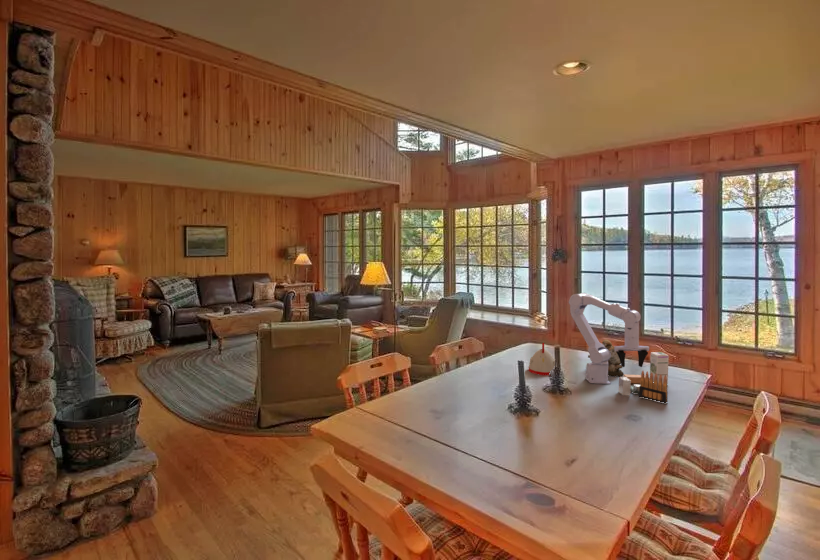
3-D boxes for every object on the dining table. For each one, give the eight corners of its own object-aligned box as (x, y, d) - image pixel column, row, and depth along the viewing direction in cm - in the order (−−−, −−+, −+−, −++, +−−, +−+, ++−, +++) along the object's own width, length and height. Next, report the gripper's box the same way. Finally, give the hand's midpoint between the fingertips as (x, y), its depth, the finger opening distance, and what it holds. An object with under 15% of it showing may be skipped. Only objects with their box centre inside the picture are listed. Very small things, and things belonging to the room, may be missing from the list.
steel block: (630, 396, 182) (630, 380, 181) (622, 395, 182) (623, 380, 182) (625, 392, 187) (626, 376, 186) (618, 392, 187) (619, 376, 187)
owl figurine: (583, 370, 220) (583, 338, 218) (593, 366, 228) (593, 335, 226) (618, 378, 206) (619, 344, 205) (627, 373, 214) (628, 341, 213)
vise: (633, 394, 184) (634, 386, 184) (620, 383, 198) (621, 376, 198) (662, 395, 183) (662, 387, 183) (647, 384, 197) (647, 377, 197)
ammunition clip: (638, 397, 180) (639, 370, 180) (640, 396, 182) (641, 369, 181) (665, 404, 172) (667, 376, 171) (667, 403, 173) (668, 375, 172)
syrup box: (668, 385, 196) (669, 354, 195) (655, 385, 196) (656, 354, 195) (661, 381, 202) (662, 351, 201) (648, 381, 202) (650, 351, 201)
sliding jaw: (626, 383, 194) (626, 377, 194) (623, 380, 198) (623, 374, 198) (649, 383, 193) (649, 377, 193) (645, 381, 197) (645, 375, 197)
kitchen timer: (528, 374, 214) (529, 345, 213) (529, 366, 227) (529, 339, 226) (557, 376, 210) (558, 347, 209) (556, 368, 223) (556, 341, 222)
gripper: (618, 338, 186) (618, 368, 187) (652, 338, 185) (652, 368, 186) (612, 335, 193) (612, 364, 194) (645, 335, 192) (645, 364, 193)
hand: (631, 366), depth 190 cm, fingers open, 7 cm apart
